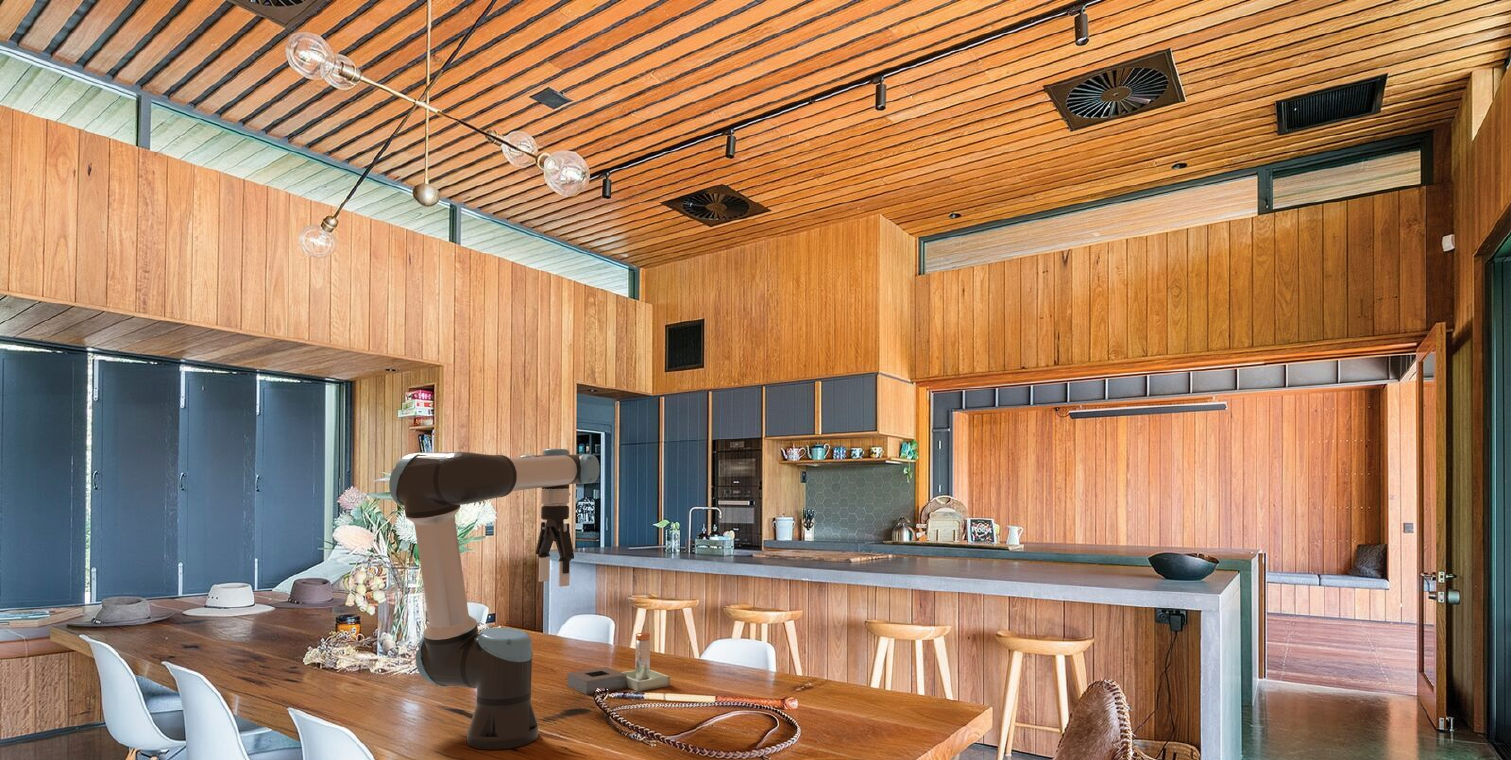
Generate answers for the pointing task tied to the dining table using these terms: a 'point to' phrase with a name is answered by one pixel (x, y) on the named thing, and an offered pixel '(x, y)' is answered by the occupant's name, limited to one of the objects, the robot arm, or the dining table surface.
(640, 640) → the orange capped vial
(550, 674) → the dining table surface
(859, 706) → the dining table surface
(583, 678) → the block
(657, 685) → the tray
